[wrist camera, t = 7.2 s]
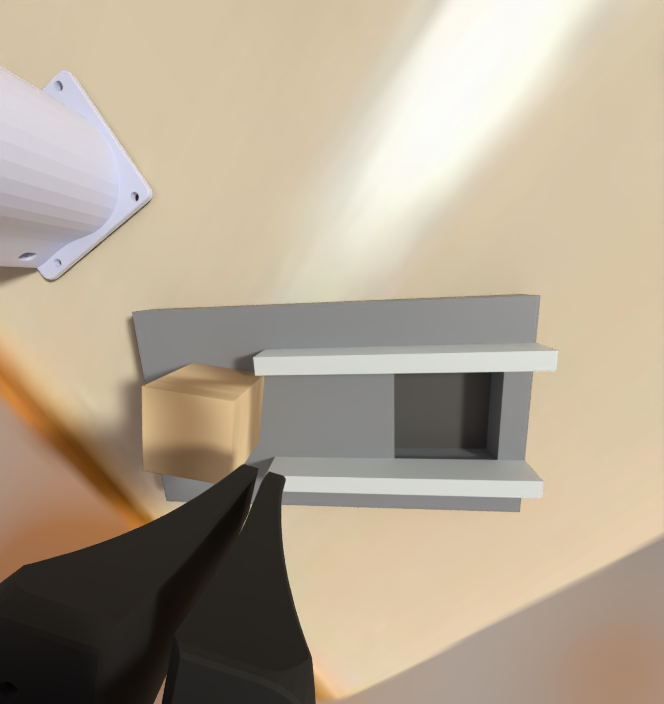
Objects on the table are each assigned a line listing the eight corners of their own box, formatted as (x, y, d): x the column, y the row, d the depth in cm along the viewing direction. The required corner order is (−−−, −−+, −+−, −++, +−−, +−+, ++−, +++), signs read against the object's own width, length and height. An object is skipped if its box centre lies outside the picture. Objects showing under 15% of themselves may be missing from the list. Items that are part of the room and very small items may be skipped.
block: (264, 373, 19) (233, 401, 14) (259, 441, 20) (228, 486, 15) (193, 362, 19) (141, 386, 15) (191, 429, 20) (142, 470, 16)
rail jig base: (521, 294, 18) (564, 297, 14) (505, 490, 21) (537, 538, 17) (154, 309, 21) (104, 315, 17) (183, 483, 23) (146, 522, 19)
